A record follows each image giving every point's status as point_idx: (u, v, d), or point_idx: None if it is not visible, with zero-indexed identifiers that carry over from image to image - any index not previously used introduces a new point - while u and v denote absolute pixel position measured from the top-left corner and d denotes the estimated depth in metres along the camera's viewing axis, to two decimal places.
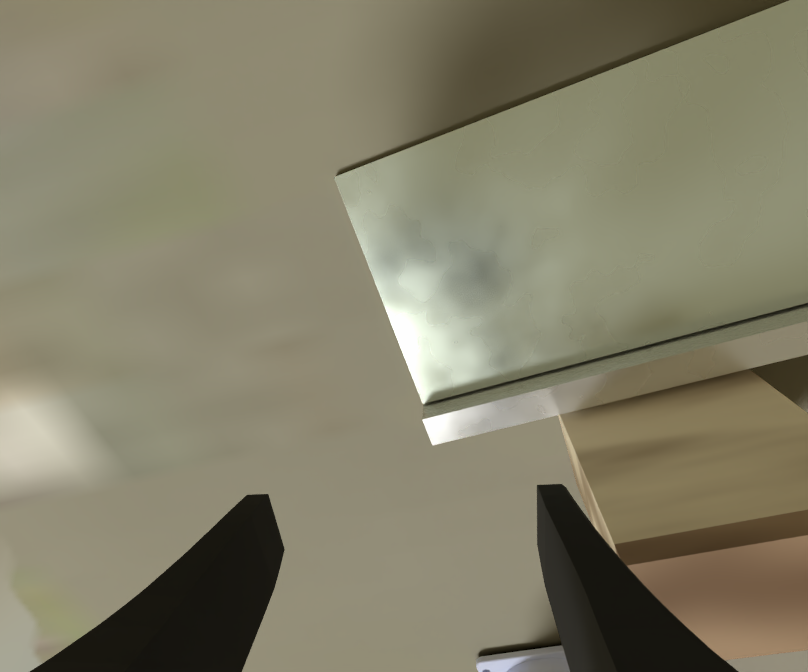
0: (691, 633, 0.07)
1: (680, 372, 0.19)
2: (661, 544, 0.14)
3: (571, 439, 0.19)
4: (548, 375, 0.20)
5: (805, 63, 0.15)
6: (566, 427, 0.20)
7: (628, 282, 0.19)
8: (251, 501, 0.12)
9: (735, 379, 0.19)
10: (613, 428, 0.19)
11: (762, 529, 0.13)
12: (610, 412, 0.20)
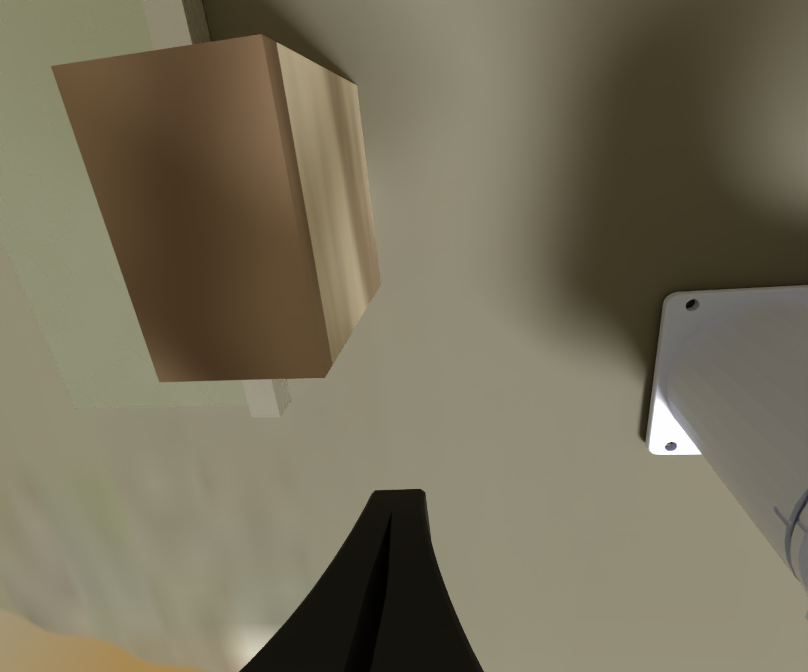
0: (458, 632, 0.07)
1: None
2: None
3: None
4: None
5: None
6: None
7: None
8: (384, 497, 0.11)
9: None
10: None
11: None
12: None
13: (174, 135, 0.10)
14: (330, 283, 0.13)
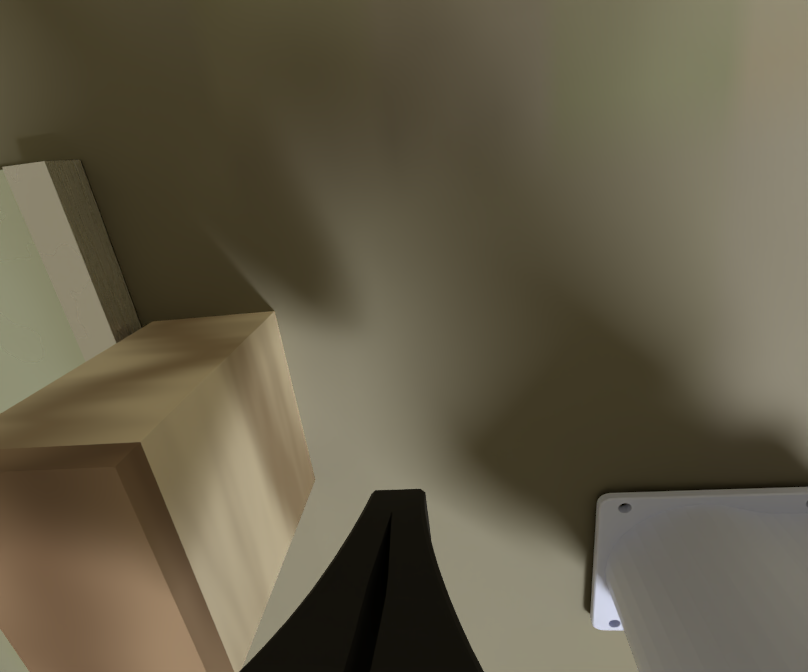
0: (458, 632, 0.07)
1: None
2: None
3: None
4: None
5: None
6: None
7: None
8: (384, 497, 0.11)
9: None
10: None
11: None
12: None
13: (37, 534, 0.10)
14: (234, 592, 0.13)
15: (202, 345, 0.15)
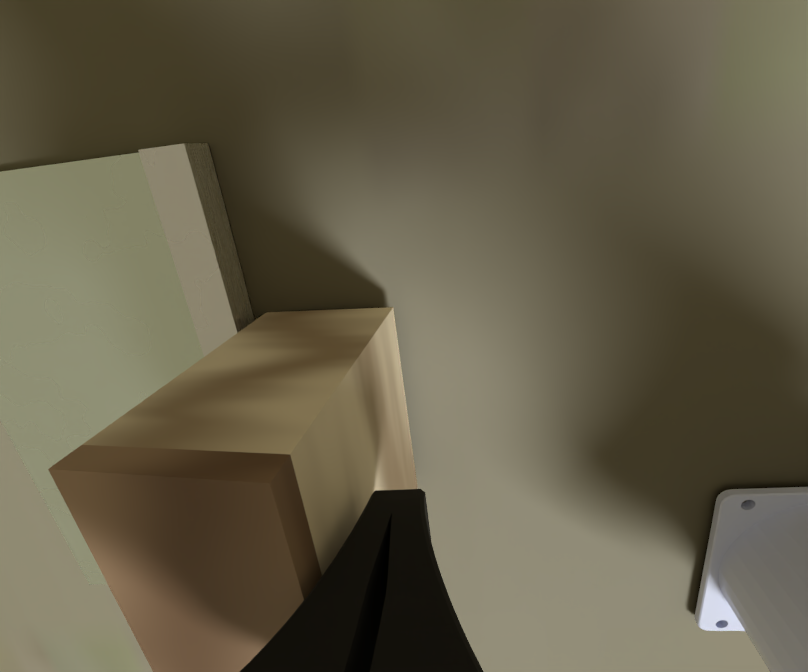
0: (458, 632, 0.07)
1: None
2: None
3: None
4: None
5: None
6: None
7: None
8: (384, 497, 0.11)
9: None
10: None
11: None
12: None
13: (178, 541, 0.09)
14: None
15: (326, 342, 0.14)
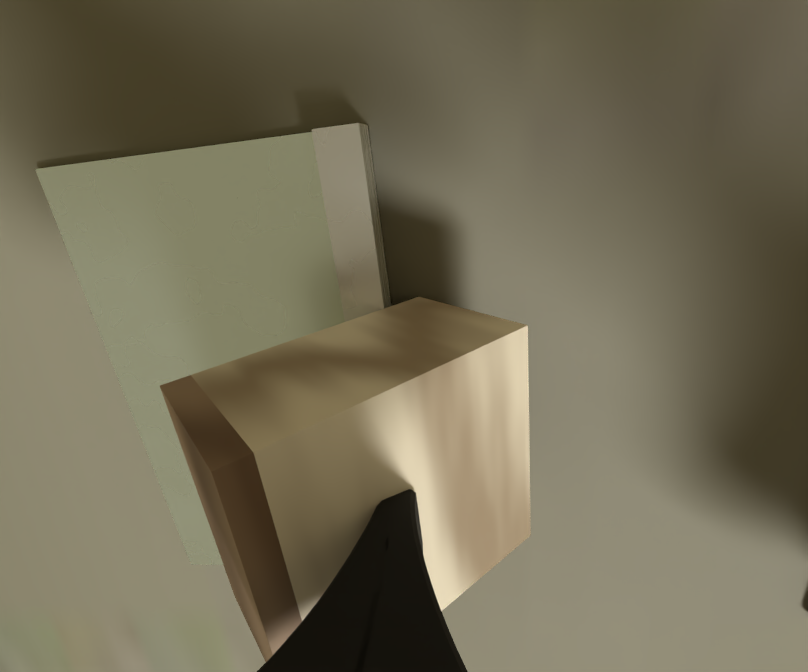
0: (443, 632, 0.07)
1: None
2: None
3: None
4: None
5: (115, 250, 0.18)
6: None
7: None
8: (395, 497, 0.11)
9: None
10: None
11: None
12: None
13: (201, 480, 0.11)
14: None
15: (419, 346, 0.13)
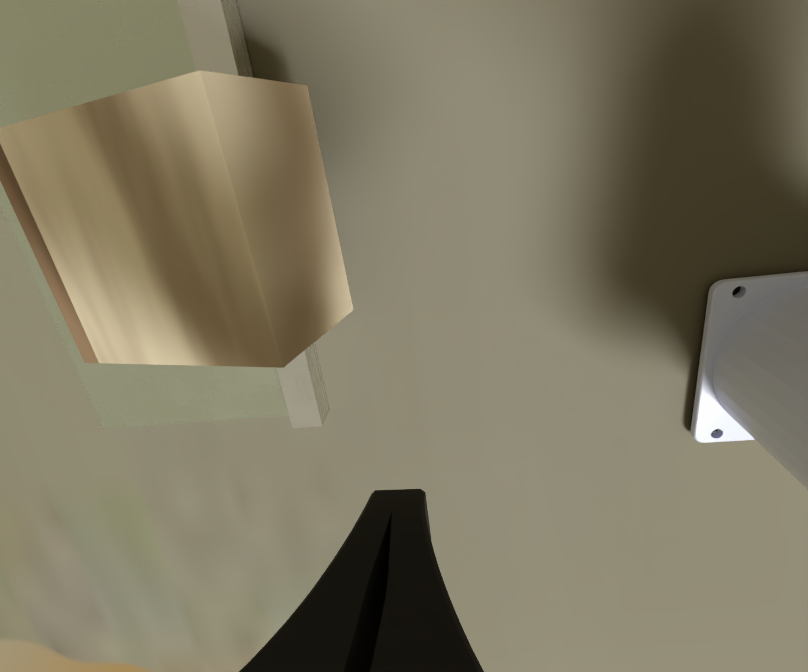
0: (458, 632, 0.07)
1: None
2: None
3: None
4: None
5: None
6: None
7: None
8: (384, 497, 0.11)
9: None
10: None
11: None
12: None
13: None
14: (95, 309, 0.16)
15: None
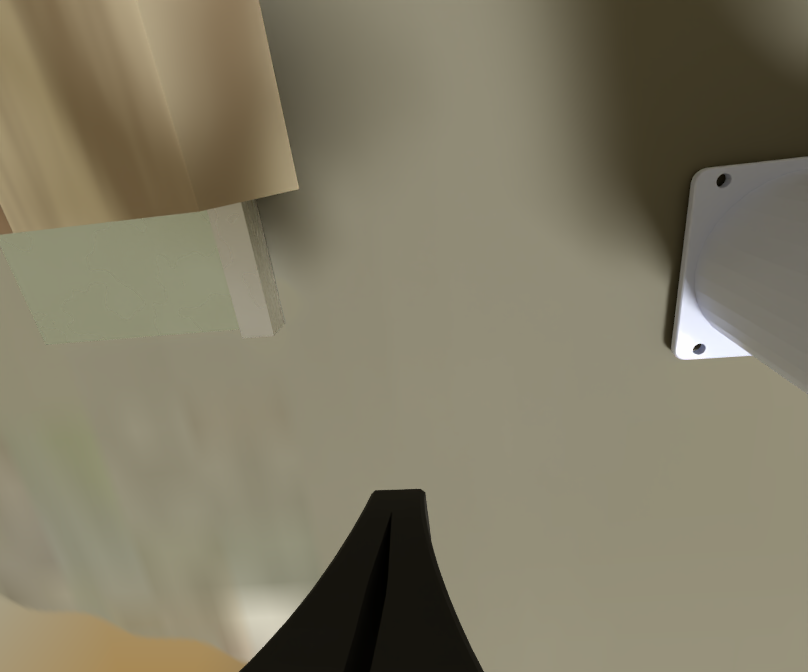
0: (458, 632, 0.07)
1: None
2: None
3: None
4: None
5: None
6: None
7: None
8: (384, 497, 0.11)
9: None
10: None
11: None
12: None
13: None
14: (2, 162, 0.14)
15: None
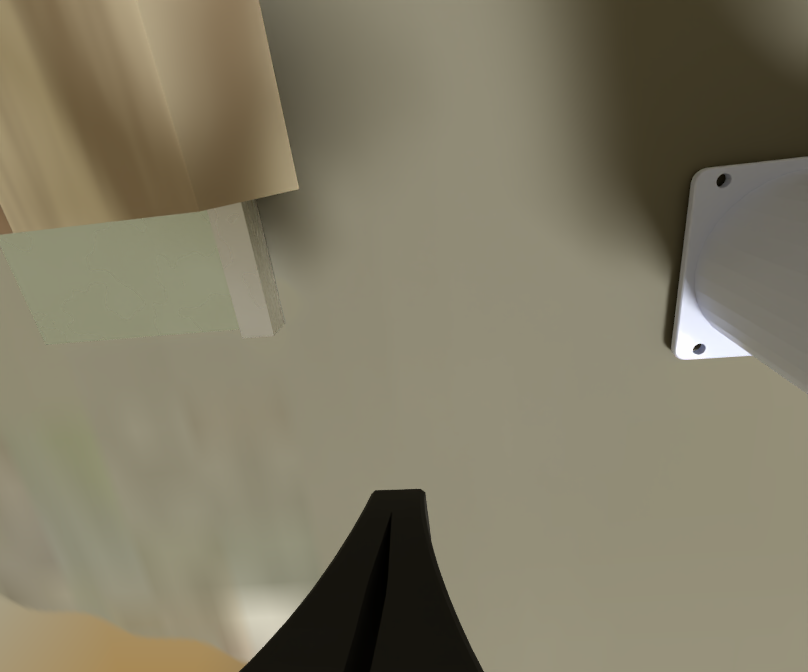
0: (458, 632, 0.07)
1: None
2: None
3: None
4: None
5: None
6: None
7: None
8: (384, 497, 0.11)
9: None
10: None
11: None
12: None
13: None
14: (2, 162, 0.14)
15: None
